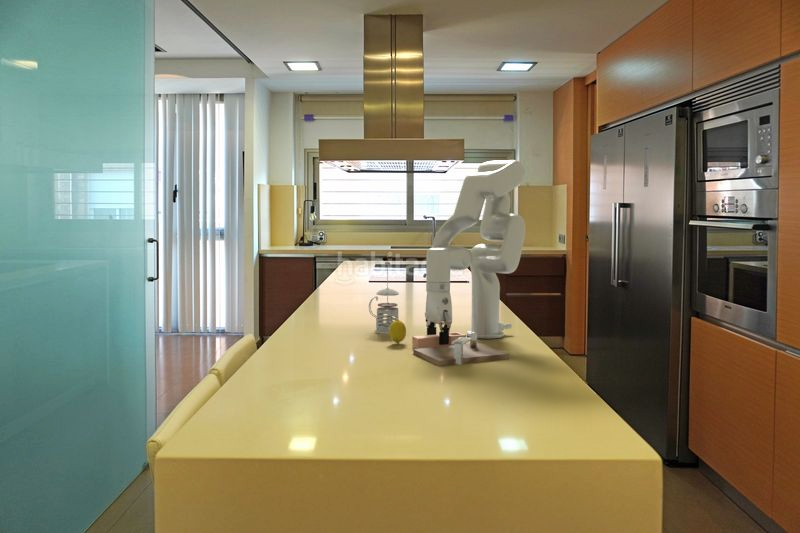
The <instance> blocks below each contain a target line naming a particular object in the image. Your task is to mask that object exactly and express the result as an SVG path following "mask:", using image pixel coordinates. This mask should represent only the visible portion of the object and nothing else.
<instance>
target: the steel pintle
mask: <svg viewBox="0 0 800 533" xmlns="http://www.w3.org/2000/svg"><path fill="white" fill-rule="evenodd" d="M469 338H471V340H470V342H469V344H470V347H471V348H477V343H478V342H477V341H478V338H477V333H476V332H470V337H469Z"/></svg>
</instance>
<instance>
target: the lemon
mask: <svg viewBox="0 0 800 533" xmlns="http://www.w3.org/2000/svg"><path fill="white" fill-rule="evenodd" d="M393 321H394V322H392V324H391V325H390V328H389V334H388V335H389V338H390V339H391V340H392V342H394V343H395V344H396V345H397V344H399V343H401V342H402V341H404V340H405V338H406V336H407V328H406V325H405V323H404V322H403V321H402V320H400V319H399V318H398V319H397V320H396V321H395V320H393Z"/></svg>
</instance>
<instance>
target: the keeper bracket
mask: <svg viewBox="0 0 800 533" xmlns="http://www.w3.org/2000/svg"><path fill="white" fill-rule="evenodd" d="M470 340H471V338H470V337H467V336H466V337H459V338H457V339H456V340H454V341H453V342H452V344H454V359H456V364H455V365H459V366H461V365H464V364H463V345H464V344H468V342H469V341H470Z"/></svg>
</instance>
